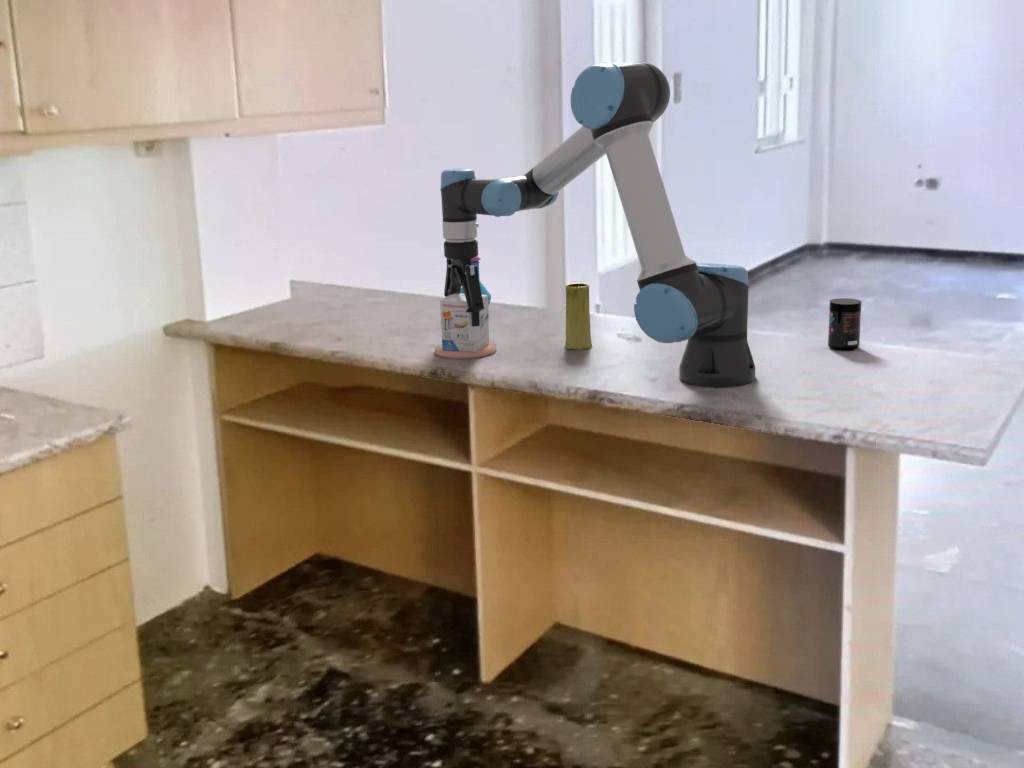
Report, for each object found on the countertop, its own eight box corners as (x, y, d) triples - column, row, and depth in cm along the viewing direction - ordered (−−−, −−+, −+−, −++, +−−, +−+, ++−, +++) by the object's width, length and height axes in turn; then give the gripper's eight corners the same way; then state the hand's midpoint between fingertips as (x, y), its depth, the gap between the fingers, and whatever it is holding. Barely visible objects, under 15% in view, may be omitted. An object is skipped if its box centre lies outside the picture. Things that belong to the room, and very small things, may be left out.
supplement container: (844, 343, 259) (846, 297, 256) (866, 348, 253) (868, 301, 250) (821, 347, 256) (822, 300, 253) (842, 353, 250) (844, 305, 247)
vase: (590, 350, 260) (589, 287, 256) (563, 350, 261) (561, 287, 257) (593, 344, 266) (592, 282, 262) (567, 343, 267) (565, 282, 263)
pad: (505, 354, 259) (505, 349, 259) (446, 361, 254) (446, 357, 254) (483, 341, 272) (483, 337, 272) (426, 348, 267) (426, 344, 267)
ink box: (441, 350, 260) (438, 299, 257) (455, 342, 268) (453, 292, 265) (476, 352, 257) (474, 300, 254) (490, 343, 265) (488, 293, 262)
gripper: (496, 244, 247) (500, 343, 252) (458, 231, 269) (462, 322, 274) (463, 248, 244) (467, 347, 250) (427, 234, 266) (432, 326, 272)
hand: (465, 334), depth 262 cm, fingers open, 12 cm apart
